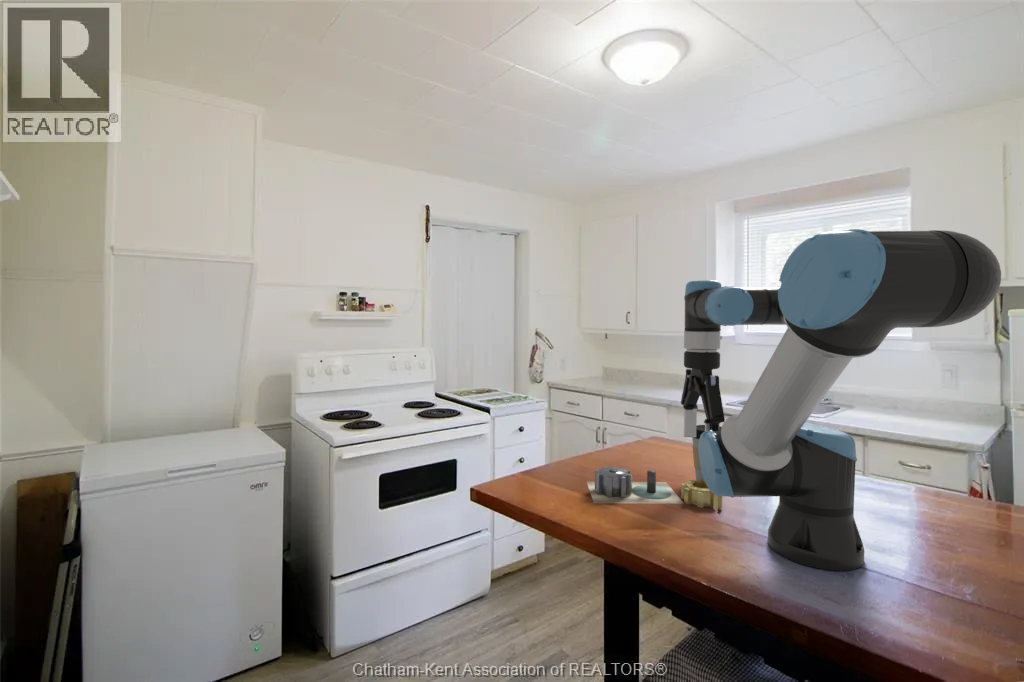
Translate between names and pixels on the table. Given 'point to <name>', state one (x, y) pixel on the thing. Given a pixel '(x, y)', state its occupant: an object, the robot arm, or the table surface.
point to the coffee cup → (699, 431)
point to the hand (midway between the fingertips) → (700, 444)
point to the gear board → (640, 492)
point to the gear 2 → (700, 495)
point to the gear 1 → (613, 482)
